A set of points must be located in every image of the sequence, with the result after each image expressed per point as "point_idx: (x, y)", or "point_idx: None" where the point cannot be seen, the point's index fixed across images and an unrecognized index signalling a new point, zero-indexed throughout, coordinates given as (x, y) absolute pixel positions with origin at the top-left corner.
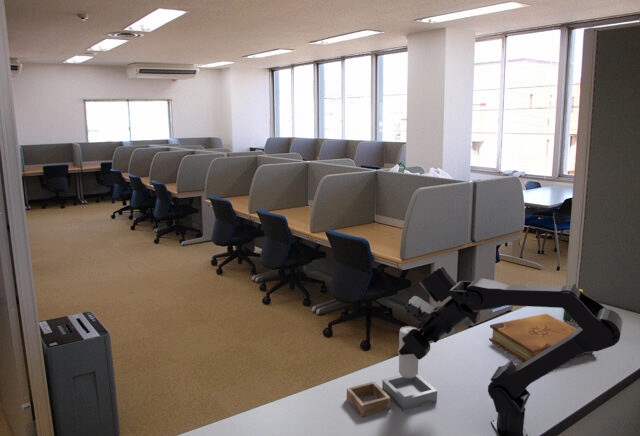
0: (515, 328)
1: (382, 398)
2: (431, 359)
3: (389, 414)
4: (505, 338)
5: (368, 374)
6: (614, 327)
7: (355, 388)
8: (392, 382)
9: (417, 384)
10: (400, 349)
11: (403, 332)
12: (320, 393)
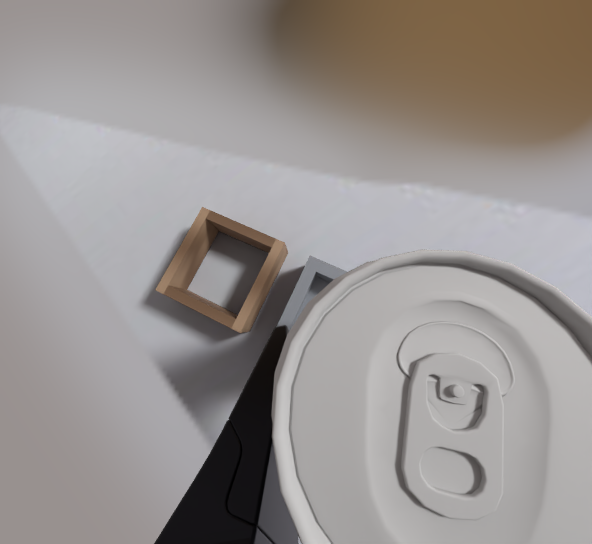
0: None
1: (220, 316)
2: (573, 282)
3: (226, 344)
4: None
5: (349, 192)
6: None
7: (219, 224)
8: (331, 281)
9: None
10: (263, 350)
11: (313, 373)
12: (197, 162)
